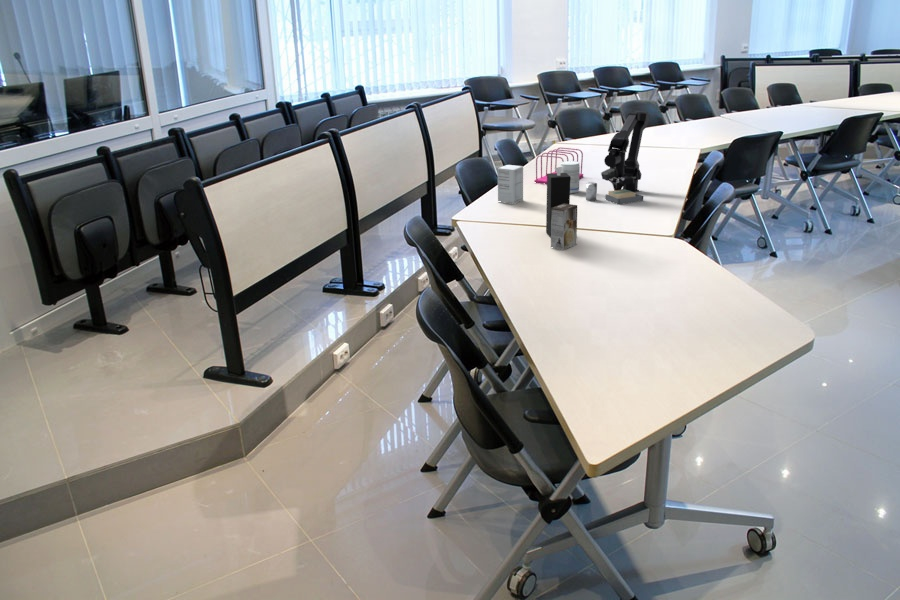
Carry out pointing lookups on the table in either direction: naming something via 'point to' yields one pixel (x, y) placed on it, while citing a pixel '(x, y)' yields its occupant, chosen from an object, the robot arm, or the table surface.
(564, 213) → the coffee box
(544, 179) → the file sorter
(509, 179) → the supplement box
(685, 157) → the table surface
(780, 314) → the table surface
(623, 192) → the carton
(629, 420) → the table surface
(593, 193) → the grey rounded block
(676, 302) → the table surface
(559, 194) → the tall black pillar
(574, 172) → the supplement tub
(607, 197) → the gray u-shaped frame
